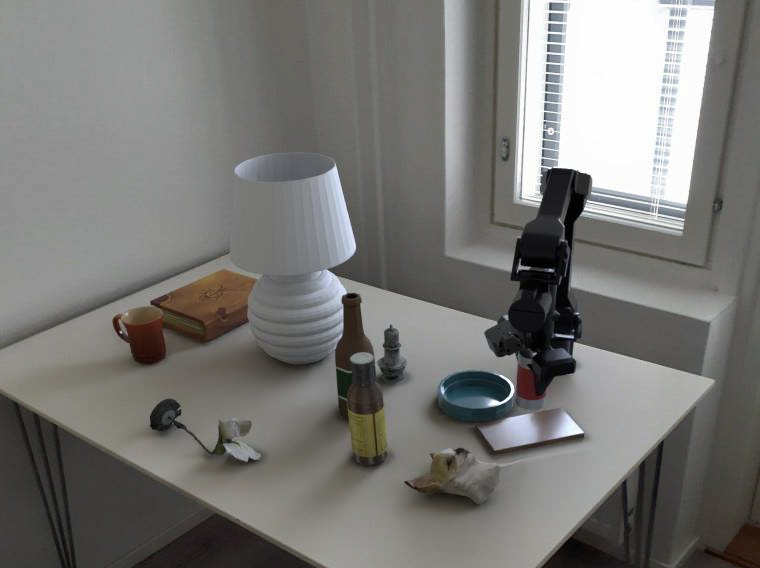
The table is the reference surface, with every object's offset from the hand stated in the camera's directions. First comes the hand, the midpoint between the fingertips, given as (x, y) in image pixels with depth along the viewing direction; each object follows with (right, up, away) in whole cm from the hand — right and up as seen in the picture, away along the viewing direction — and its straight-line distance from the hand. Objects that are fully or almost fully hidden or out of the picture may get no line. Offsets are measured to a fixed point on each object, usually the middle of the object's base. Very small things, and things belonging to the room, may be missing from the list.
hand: (531, 387), depth 149 cm
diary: (-63, +18, +53) cm, 84 cm away
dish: (-8, -3, +15) cm, 17 cm away
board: (0, -8, +5) cm, 10 cm away
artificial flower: (-57, -10, +7) cm, 58 cm away
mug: (-76, +7, +37) cm, 85 cm away
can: (0, -3, +2) cm, 3 cm away
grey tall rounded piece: (-23, +2, +25) cm, 34 cm away
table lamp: (-42, +8, +36) cm, 56 cm away
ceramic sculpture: (-14, -17, -8) cm, 24 cm away
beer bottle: (-30, -4, +14) cm, 34 cm away
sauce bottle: (-28, -12, +2) cm, 31 cm away
